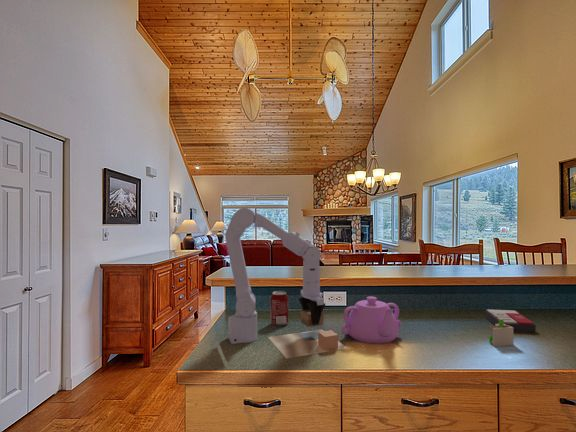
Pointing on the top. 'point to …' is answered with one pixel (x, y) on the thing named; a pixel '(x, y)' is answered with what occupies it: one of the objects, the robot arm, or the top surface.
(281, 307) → the soda can
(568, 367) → the top surface
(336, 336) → the terracotta block
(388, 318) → the teapot
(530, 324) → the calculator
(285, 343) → the beige flat square
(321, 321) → the walnut block
